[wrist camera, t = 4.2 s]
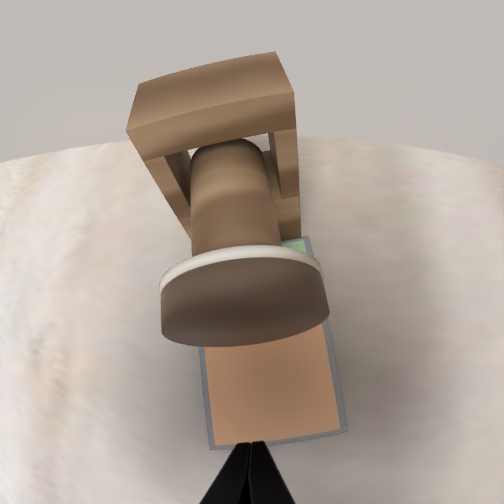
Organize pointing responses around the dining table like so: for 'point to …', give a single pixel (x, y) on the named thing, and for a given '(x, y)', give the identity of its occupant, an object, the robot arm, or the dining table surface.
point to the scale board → (273, 387)
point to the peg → (238, 260)
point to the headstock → (219, 128)
